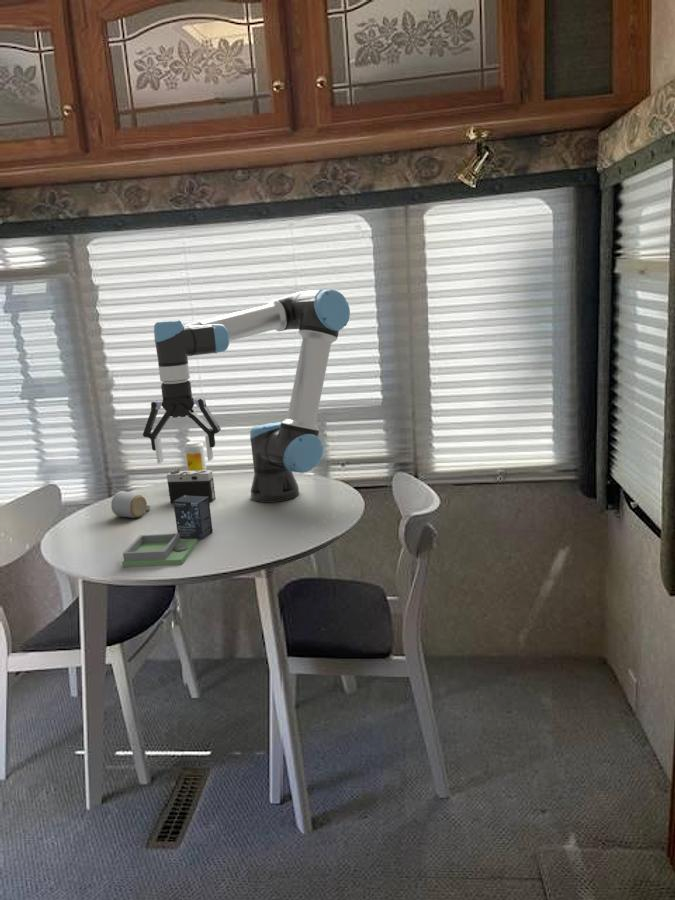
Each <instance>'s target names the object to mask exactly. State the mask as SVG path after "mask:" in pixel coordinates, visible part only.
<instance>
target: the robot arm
mask: <svg viewBox="0 0 675 900" xmlns="http://www.w3.org/2000/svg"><path fill="white" fill-rule="evenodd" d="M350 309H351V308H350V305H349V302H348V301H347V299H346V297H345V296H344V295H343V294H342V293H341V291H337V290H335V289H326V288H322V289H315V290H314V289H312V290H301V291H298V292H294V293H292V294H289V295H285V296H283V297H279V298H277V299H272V300H270V302H268V304H265V305H262V306H257V307H252V308H249V309H245V310H241V311H235V312H231V313H229V314H223V315H220V316H215V317H211V318H207V319H203V320H202V319H201V320H198V321H196V322H190V323H186V324H185V323H184V322H183V320H180V319H176V320H175V319H174V320H163V321H158V322H155V324H154V325H153V334H154V335H153V337H154V343H155V348H156V349H155V350H156V355H157V362H158V373H159V380H160V382H161V384H160V387H161V388H160V389H161V397H162V401H158V400H153V401H151V402H150V413H149V416H148V418H147V421H146V425H145V427H144V430H143V432H142V436H143V437H144V438H148V439H150V441H151V450H152V451H155V454H156V461H157V462H156V463H157V464H161V463H162V462H164V455H163V448H162V440H161V436H158V435H159V434H160V432H161V431H162V430H163V428H164V426H165V425H166V424H167V422H168V421H169V419H170V418H171V417H172V419H174V418H175V419H176V418H179V417H180V418H186V417H188V418H189V419H191V420H192V421H193V423H195V424H196V425H198V427H200V429H201V430H202V431H203V432H205V434H206V435H205V437H204V438H205V448H206V455H207V456H206V457H207V461H208V462H209V461H212V460H213V459H214V455H213V454H214V453H213V448H215V447H216V439H215V434H218V433H219V432H220V431H221V429H222V428H221V427H220V425H219V423H218V422H217V420H216V418H215V417H214V416H213V414H212V413H211V411H210V409H209V407H208V406H207V403H206V398H204V397H200V398H197V399H194V398H193V393H192V391H193V390H192V385H191V381H190V380H189V379H190V378H191V377H190V369H189V358H188V357H192V356H193V357H194V356H201V355H210V354H217V353H221V352H222V353H223V352H225V351H226V350H228V348H229V345H230V342H231V341H234V340H239V339H243V338H247V337H251V336H254V335H258V334H263V333H266V332H269V331H274V330H275V331H277V332H284V331H288V330H289V331H290V330H298V333H299V334H300V336H301V337H302V341H301V345H300V351H299V356H298V361H297V364H296V365H297V366H296V371H295V374H294V375H295V376H294V381H293V386H292V391H291V397H290V402H289V405H288V406H289V407H288V412H287V417H286V418H285V419H284V420H282V421H278V422H277V421H276V422H271V423H264V424H259V425H256V426H253V427H252V428H251V429H250V430H249V432H250V434H249V435H250V437H249V440H250V445H251V446H250V447H251V455H252V456H251V457H252V465H253V472H254V473H253V479H252V482H251V487H250V488H251V489H250V499H252V500H253V501H255V502H259V503H275V502H276V503H277V502H284V501H286V500H291V499H293V498H296V497H297V496H298V495H299V493H300V492H299V491H300V490H299V484H298V482H297V480H296V478H295V475H294V473H301V474H302V473H303V474H304V473H308V472H310V471H312V470H313V469H315V468H316V467H317V466H318V465H319V464H320V461H321V459H322V457H323V453H324V446H323V444H322V441H321V439H320V438H319V433H320V429H319V427H318V425H317V423H316V422H317V417H318V411H319V408H320V402H321V399H322V398H321V397H322V393H323V387H324V382H325V377H326V372H327V367H328V361H329V356H330V353H331V352H330V351H331V346H332V344H333V343H335V342H336V341H337V340H338V337H339V333H340V331H341V330H342V329H344V328H345V327H346V326H347V325H348V323H349V322H350V321H349V320H350V316H351V315H350V314H351V310H350ZM195 405H196V407H197V408H199V410H200V412H201V413H202V415H203V416H204V418H205V419H206V421H207V422H206V421H205V419H203V418H202V417H201V416H200V415H199V414H198V413H197V411H195V409H194V406H195ZM161 407H162V408H163V409H164V410H165V412H164V414H163V415H162V417H161V419H160V420H159V421H158V423H157V424H156V427H155V428H154V424H155V421H156V418H157V416H158V413H159V410H160V409H161ZM153 428H154V429H153ZM152 430H153V431H152Z"/></svg>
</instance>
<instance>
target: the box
mask: <svg viewBox="0 0 675 900" xmlns="http://www.w3.org/2000/svg"><path fill="white" fill-rule="evenodd" d="M210 506H211V505H210V502H209V497H207V496H187V495H184V496H182V497H180V498H178V499H176V500H175V501H174V503H173V508H174V509H173V510H174V517H175V524H176V530H177V531H176V532H177V533H179V534H180V539H181V538H182V539H197V540H203V539H206V538H207V537H208V536H210V535H212V533H213V523H212V516H211V514H212V513H211V507H210Z"/></svg>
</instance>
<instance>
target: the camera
mask: <svg viewBox="0 0 675 900" xmlns="http://www.w3.org/2000/svg"><path fill="white" fill-rule="evenodd" d="M213 476H214V475H213V470H211V469H206V470H201V471H188V470H178V469H177V470H176V469H175V470H172V471H170V472H168V473H167V474H166V480H167V485H168V486H167V487H168V495H169V501H170V504H174V501H175V500H176V499H178V498H180V497H182V496H184V495H187V496H207V497H209V503H213V502H214V501H215V500H216V492H215V482H214V477H213Z"/></svg>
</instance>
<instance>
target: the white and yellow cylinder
mask: <svg viewBox="0 0 675 900" xmlns="http://www.w3.org/2000/svg"><path fill="white" fill-rule="evenodd" d="M184 447H185V455H186V462H187V463H186V464H187V471H201V470H207V462H206V454H205V447H204V443H203V441H202V440H191V441H188V442H186V443H185V446H184Z"/></svg>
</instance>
